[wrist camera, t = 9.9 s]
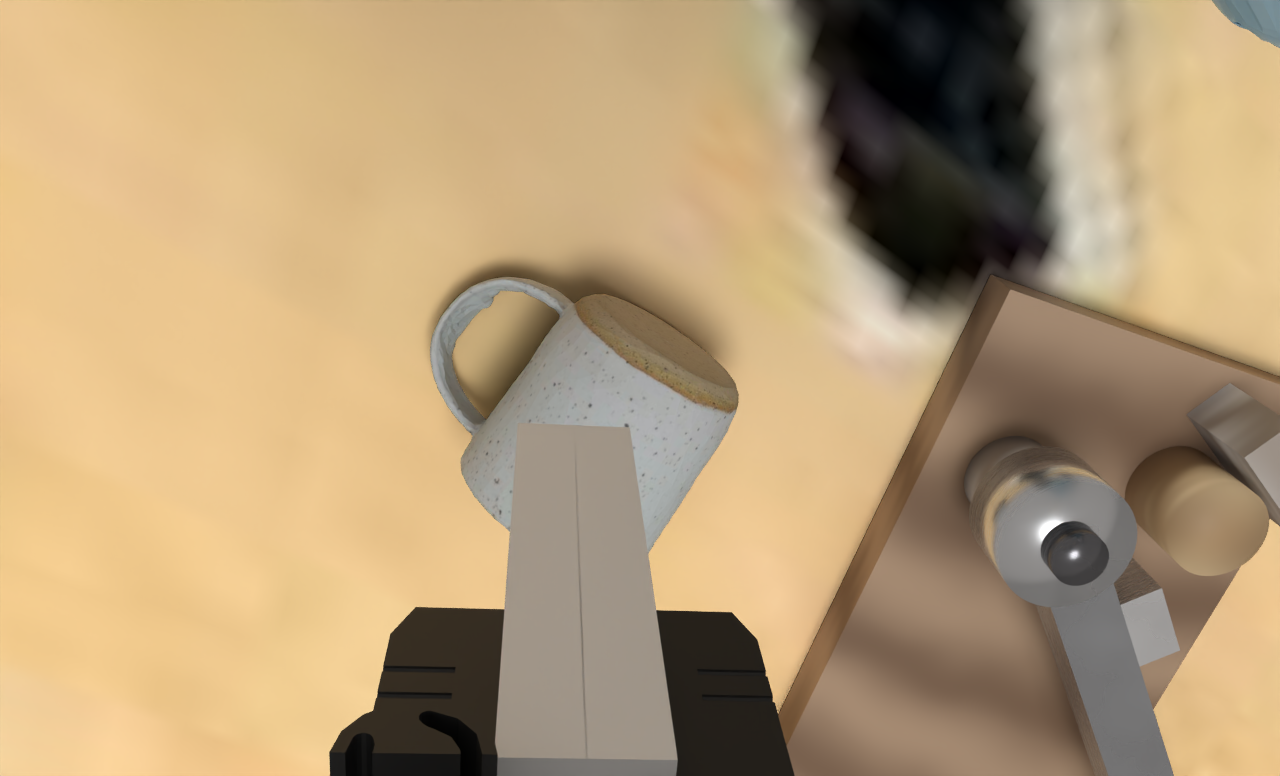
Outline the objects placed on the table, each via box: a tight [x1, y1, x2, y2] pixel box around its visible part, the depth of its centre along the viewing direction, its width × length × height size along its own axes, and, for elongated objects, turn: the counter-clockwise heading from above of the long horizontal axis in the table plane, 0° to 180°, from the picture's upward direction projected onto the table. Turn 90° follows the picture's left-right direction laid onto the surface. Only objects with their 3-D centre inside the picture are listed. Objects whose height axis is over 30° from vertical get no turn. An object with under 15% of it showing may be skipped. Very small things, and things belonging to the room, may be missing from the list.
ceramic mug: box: [430, 277, 738, 553], centre depth 41 cm, size 11×8×8 cm
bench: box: [778, 275, 1280, 776], centre depth 49 cm, size 32×15×6 cm, turn 160°
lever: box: [969, 446, 1180, 776], centre depth 46 cm, size 26×5×5 cm, turn 23°
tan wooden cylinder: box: [1125, 446, 1269, 576], centre depth 45 cm, size 4×4×4 cm
